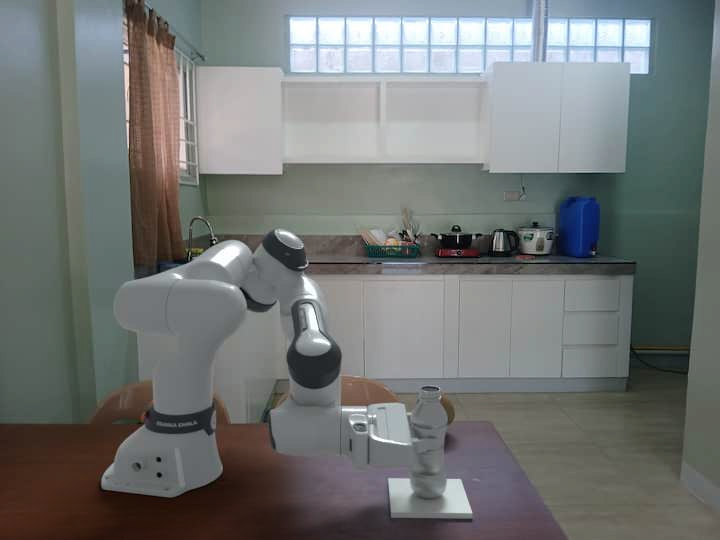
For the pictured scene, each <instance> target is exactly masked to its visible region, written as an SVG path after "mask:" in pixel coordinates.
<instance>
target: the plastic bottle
mask: <svg viewBox="0 0 720 540" xmlns="http://www.w3.org/2000/svg"><path fill="white" fill-rule="evenodd" d="M441 390H442V389H441V387H439V386H436V385H423V386H420V388H419V394H418V399H420V402H419V403H418V404H417V403H416V404H417V405H416V404H415V407H413V410H411V412H412V414H411V424H412V426H411V430H412V432H411V433H412V438H418V440H420V439H426V438H427V436H431V437H434V436H435V437H437V439H438V442H439V446H438V449H437V450H427V451H424V452H421V453H413V463H412V464H411V465H412V468H411V470H410V476H409V478H410V485H411V489H412V490H413V492H414V493H415V494H416V495H417V496H419V497H422V498H428V499H433V498H438V497H440V496H441V495H442V494H443V493H444V492H445V489H446V484H447V479H448V478H447V472H446V469H445V453H444V451H445V448H444V447H445V442H446V441H445V439H446V432H447V427H448V426H447V420H448V417H447V414H446V411H445V410H444V408H443V406H442V405H441V404H440V402H439V401H440V400H441V396H440V394H441V393H442V392H441Z"/></svg>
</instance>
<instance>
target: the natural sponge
mask: <svg viewBox="0 0 720 540" xmlns="http://www.w3.org/2000/svg"><path fill="white" fill-rule="evenodd" d="M440 396H441V400H440V401H439V402H440V404H441V405H442V406H443V408H444V410H445V411H446V414H447V417H448V420H447V427H448V426H450V425H451V424H452V423H453V422H454V420H455V416H456V414H455V413H456V412H455V408H454V405H453V403H452V401H451V400H452V399H450V398H449V397H448V396H447V395H446V394H444V393H443V392H441V394H440ZM419 402H420V399H419V398H418V399H417V401H416V404H415V406H416V405H417V404H418V403H419Z"/></svg>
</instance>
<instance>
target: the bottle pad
mask: <svg viewBox="0 0 720 540" xmlns="http://www.w3.org/2000/svg"><path fill="white" fill-rule="evenodd" d="M446 479H447V484H446V489H445V492H444V493H443V494H442V495H441V496H440V497H438V498H433V499H428V498H422V497H419V496H417V495H416V494H415V493H414V492H413V490H412V489H411V485H410V477H409V478H402V477H401V478H393V477H391V478H390V477H388V479H387V486H388V499H389V508H390V518H391V519H399V518H401V519H464V520H466V519H469V520H470V519H473V511H472V507H471V504H470V502H469V499H468V496H467V493H466V490H465V486H464V484H463V481H462V479H461V478H446Z"/></svg>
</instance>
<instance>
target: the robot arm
mask: <svg viewBox="0 0 720 540" xmlns="http://www.w3.org/2000/svg"><path fill="white" fill-rule="evenodd" d="M252 252H253V251H251V249H250V247H248V245H247V244H245V243H244V242H242V241H241V240H236V239H228V240H224V241H222V242H218V243H217V244H214V245H212V246H211V247H209V248H207V250H205V251H204V252H202V253H201V254H200V255H198V256H196V257H195V258H194V259H192V260H191V261H190V262H188V263H185V264H183V265H179V266H176V267H174V268H171V269H167V270H165V271H163V272H160V273H157V274H153V275H151V276H147V277H142V278H138V279H133V280H128V281H126V282H124V283H122V285H121V286H119V288H118V290H117V292H116V293H115V296H114V299H113V314H114V318H115V320H116V321H117V323H118V325H119V326H120V327H121V328H123V329H125V330H128V331H131V332H135V333H139V334H143V335H148V336H149V335H150V336H167V337H168V336H169V337H177V341H178V342H177V349H176V351H174V352H172V353H170V354H168V355H165V356H164V357H163V358H161V359H160V360H159V361H158V362H157V363H156V364H155V366H154V368H153V371H152V400H151V401H150V402H149V403H148V404H147V405H148V406H147V407H146V408H145V409H144V411H143V413H142V414H141V417H140V418H141V419H140V420H141V422H144V424H143V425H142V426H141V427H139V428H138V429H136V430H135V431H134V432H133V433H131V434H130V435H129V436H128V437H127V438H125V440H124V441H123V442H121V444H120V445H119V446H118V448H117V451H116V453H115V456H114V461H113V463H111V465H110V466H109V467H107V469H106V470H105V471H104V473H103V475H102V477H101V483H100V486H101V488H102V490H105V491H114V492H122V493H129V494H137V495H138V494H140V495H146V496H155V497H164V498H175V497H177V496H180V495H182V494H184V493H186V492H188V491H190V490H194V489H197V488H201V487H204V486H206V485H208V484H210V483H211V482H214V481H216V480H217V479H218V478H220V476H221V474H222V473H223V470H224V469H223V464H222V462H221V458H220V455H219V451H218V445H217V439H216V432H215V431H216V427H217V411H216V404H215V403H216V402H215V400H214V399H213V383H214V381H213V379H214V367H215V366H214V365H215V361H216V358H217V357H218V356H217V355H218V354H219V352H220V350H221V348H222V346H223V345H224V344H225V343H226V341H228V339H229V340H230V338H231V337H232V336H234V335H235V334H236V333H237V332H238V331H239V330H240V329H241V328H242V326H243V325H244V323H245V320H246V317H247V313H248V312H247V311H250V312H252V313H256V314H257V313H260V314H261V313H262V314H263V313H267V312H268V311H270V310H271V309H272V308H273V307H274V306H275V305H276V304H277V302H278V304H279V319H280V326H281V327H282V328H281V329H282V331H283V334H284V336H285V339H286V341H288V342H289V343H290V345H289V347H288V349H287V352H286V356H285V357H286V363H287V364H286V365H287V371H288V376H289V386H290V388H289V389H290V392H289V393H288V395H287V397H286V399H284V401H282V403H281V404H280V405H279V406H278V407H276V408H272V409H270V411H269V413H268V417H267V420H268V421H267V423H268V435H269V441H270V442H269V443H270V445H271V449H273V451H275V452H276V453H279V454H282V455H287V456H291V457H292V456H294V457H313V458H314V457H320V456H323V455H332V456H335V457H338V458H347V459H348V460H349V461H350V462H351V464H352V466H353V467H354V468H355V469H356V470H359V471H360V470H363V471H364V470H368V467H369V466H370V467H371V468H378V469H390V468H391V469H393V468H394V469H395V468H397V469H398V468H405V467H409V466H411V465H413V455H414V453H421V452H424V451H427V450H437V449H438V446H439V442H438V439H437V437H435V436H434V437H431V436H427V438H426V439H420V440H418V438H413V436H412V432H411V428H410V427H412V424H411V414H412V411H411V412H407V407H406V404H404V403H400V402H380V403H378V402H377V403H372V404H370V405H368V406H366V405H342V403H341V402H342V376H341V375H342V373H341V369H342V360H343V359H342V357H343V354H342V350H341V348H340V345H339V344H338V343H337V342H336V340H334V338H332V336H331V335H330V334H329V328H330V313H329V307H328V304H327V301H326V298H325V296H324V293H323V291H322V289H321V287H320V286H319V284H318V283H317V282H316V281H315V280H314V279H312V278H310V277H308V276H307V275H306V274H305V271H306V270H307V269H308V267H309V261H308V260H307V252H306V249H305V246H304V243H303V241H302V240H301V239H300V238H299V237H298V236H297V235H296V234H294V233H293V232H290V231H289V230H286V229H282V228H275V229H271V230H270V231H269V232H268V233H267V234H266V235H265V236H264V237H263V238H262V239H261V243H260V244H259V245H258V246H257V248H256V249H255V251H254V252H253V253H252Z"/></svg>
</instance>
